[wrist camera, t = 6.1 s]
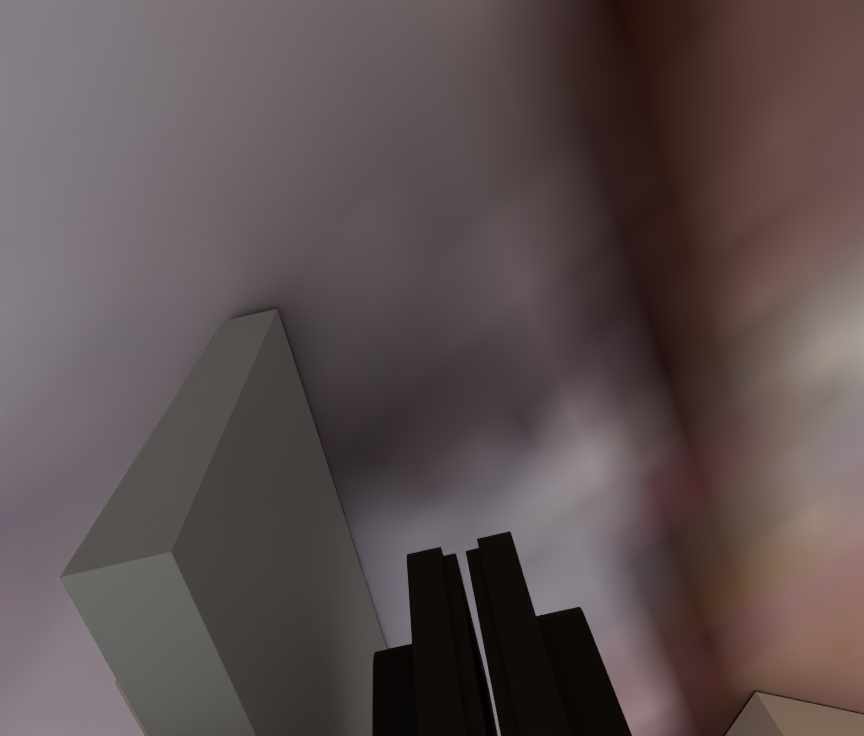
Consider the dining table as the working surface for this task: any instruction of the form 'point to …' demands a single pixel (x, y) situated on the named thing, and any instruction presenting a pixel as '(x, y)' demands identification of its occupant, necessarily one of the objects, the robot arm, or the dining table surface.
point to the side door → (232, 561)
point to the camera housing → (794, 719)
